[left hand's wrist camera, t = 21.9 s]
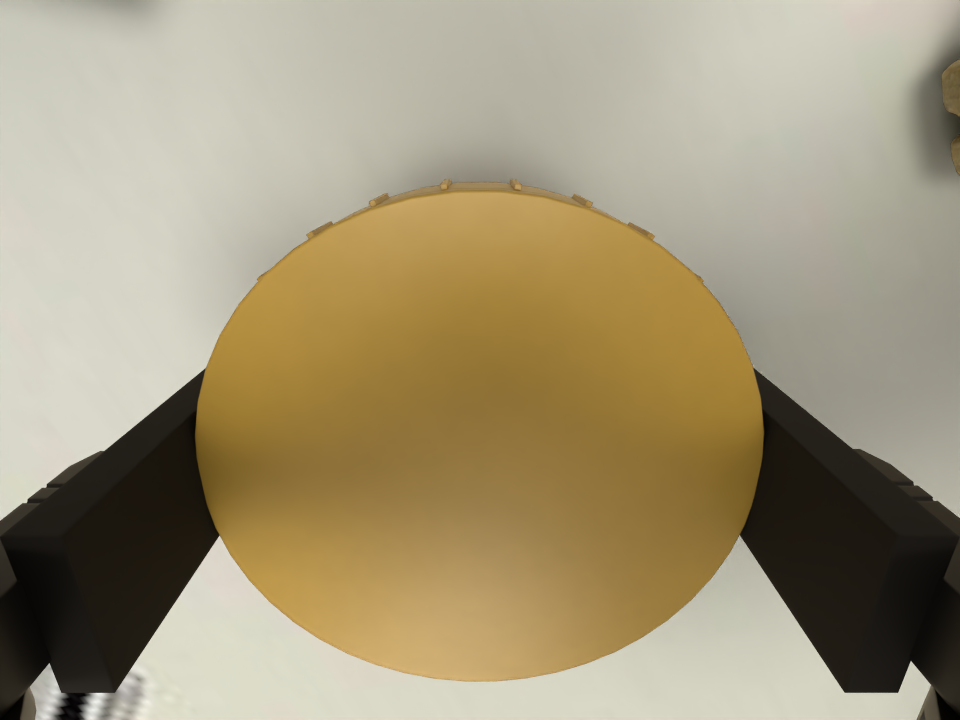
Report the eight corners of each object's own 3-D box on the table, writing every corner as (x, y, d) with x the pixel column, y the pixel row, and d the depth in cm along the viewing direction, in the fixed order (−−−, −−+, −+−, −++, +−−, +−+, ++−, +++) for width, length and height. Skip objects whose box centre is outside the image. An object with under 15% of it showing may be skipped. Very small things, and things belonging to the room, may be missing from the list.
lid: (571, 666, 14) (583, 738, 13) (179, 524, 13) (131, 584, 11) (828, 326, 11) (894, 360, 9) (337, 68, 9) (303, 51, 8)
